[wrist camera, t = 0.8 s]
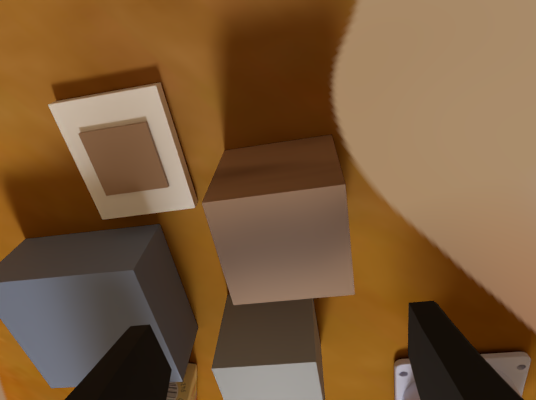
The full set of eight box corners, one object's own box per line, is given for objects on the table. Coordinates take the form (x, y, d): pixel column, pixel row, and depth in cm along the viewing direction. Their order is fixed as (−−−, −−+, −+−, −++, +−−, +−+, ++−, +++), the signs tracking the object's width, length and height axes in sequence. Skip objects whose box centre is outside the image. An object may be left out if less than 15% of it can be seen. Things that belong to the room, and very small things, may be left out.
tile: (198, 201, 18) (194, 209, 18) (107, 213, 19) (100, 221, 18) (160, 82, 16) (154, 86, 15) (55, 101, 16) (45, 105, 16)
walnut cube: (340, 225, 19) (354, 294, 14) (246, 235, 20) (233, 305, 15) (331, 133, 16) (345, 184, 12) (224, 149, 17) (201, 203, 13)
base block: (199, 324, 23) (182, 381, 20) (85, 332, 25) (51, 388, 21) (161, 221, 20) (133, 269, 16) (28, 235, 21) (-25, 284, 17)
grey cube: (320, 343, 23) (326, 423, 19) (245, 349, 24) (234, 427, 20) (311, 285, 21) (316, 362, 17) (227, 293, 22) (211, 368, 17)
